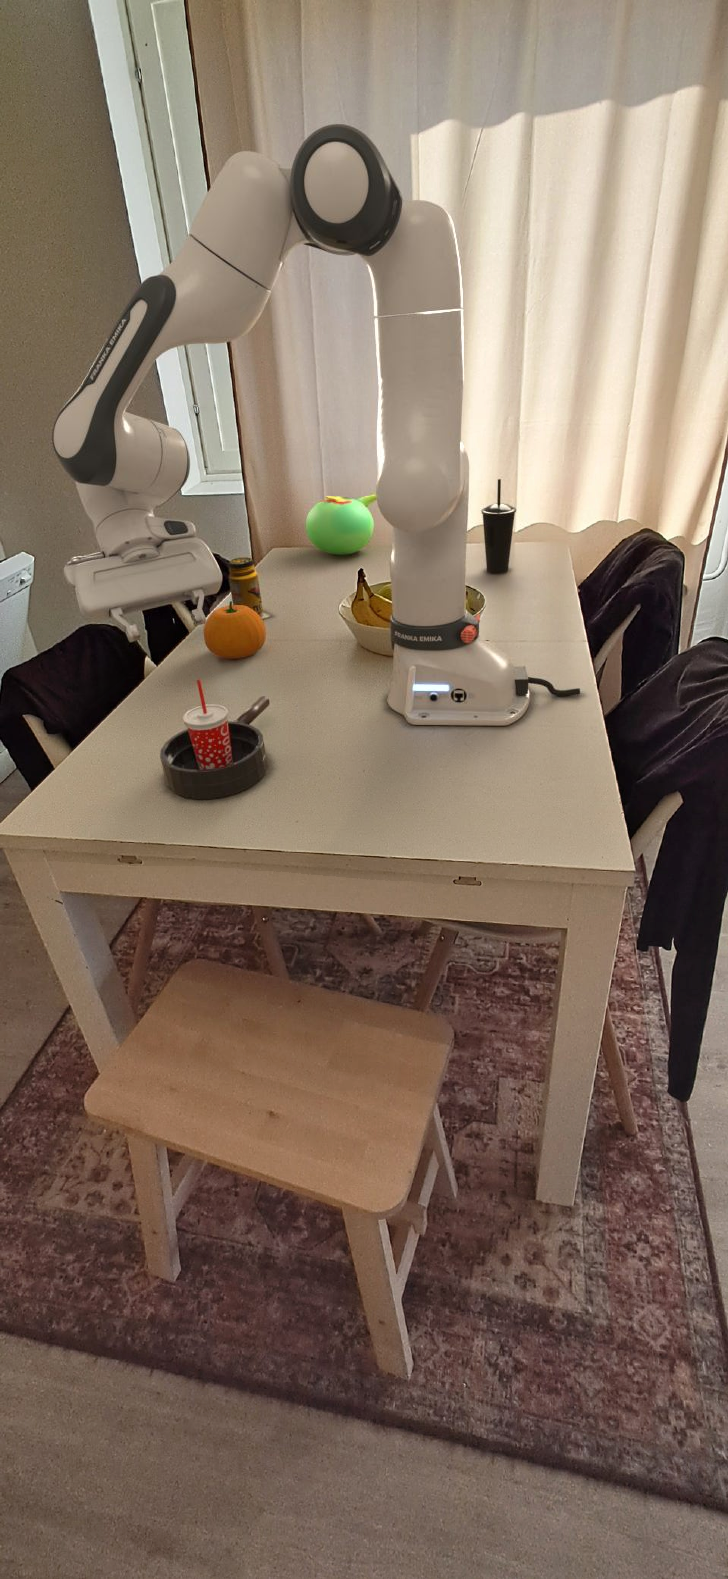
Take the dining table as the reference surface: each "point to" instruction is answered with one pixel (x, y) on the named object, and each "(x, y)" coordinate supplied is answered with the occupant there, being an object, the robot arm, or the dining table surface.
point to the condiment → (245, 585)
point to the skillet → (216, 781)
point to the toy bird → (341, 524)
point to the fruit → (234, 632)
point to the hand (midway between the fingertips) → (168, 631)
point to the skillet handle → (251, 713)
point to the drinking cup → (498, 534)
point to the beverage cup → (209, 734)
